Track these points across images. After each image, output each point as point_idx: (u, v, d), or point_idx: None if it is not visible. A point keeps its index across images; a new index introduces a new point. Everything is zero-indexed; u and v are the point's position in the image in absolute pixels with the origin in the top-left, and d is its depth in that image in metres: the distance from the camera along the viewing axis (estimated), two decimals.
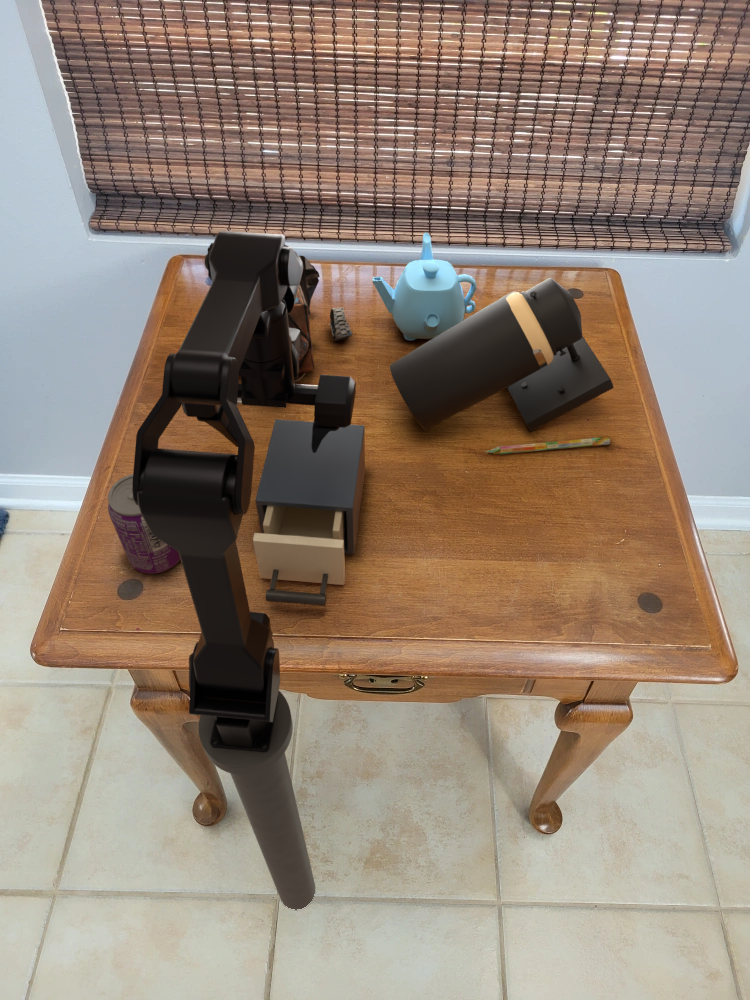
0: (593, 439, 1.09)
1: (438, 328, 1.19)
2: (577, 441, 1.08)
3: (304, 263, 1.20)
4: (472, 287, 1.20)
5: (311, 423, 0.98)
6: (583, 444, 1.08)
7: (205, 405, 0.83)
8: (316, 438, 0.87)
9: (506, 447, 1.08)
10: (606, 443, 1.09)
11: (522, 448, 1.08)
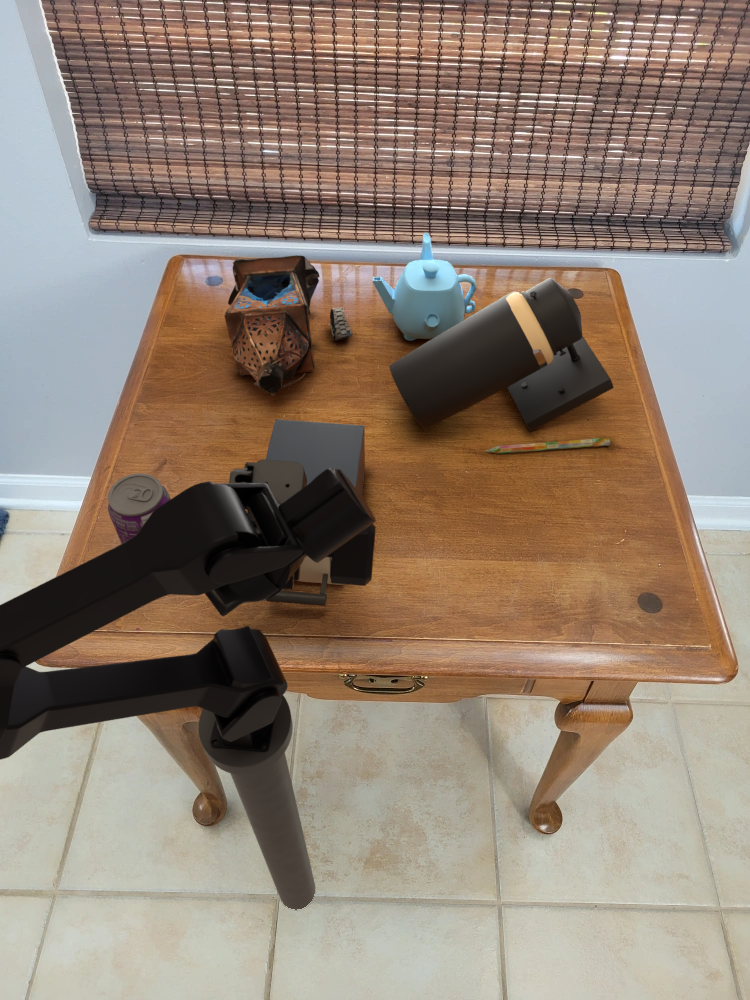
0: (593, 440, 1.09)
1: (438, 328, 1.19)
2: (577, 441, 1.08)
3: (304, 263, 1.20)
4: (472, 287, 1.20)
5: (311, 423, 0.98)
6: (583, 445, 1.08)
7: None
8: None
9: (506, 446, 1.08)
10: (606, 444, 1.09)
11: (522, 448, 1.08)
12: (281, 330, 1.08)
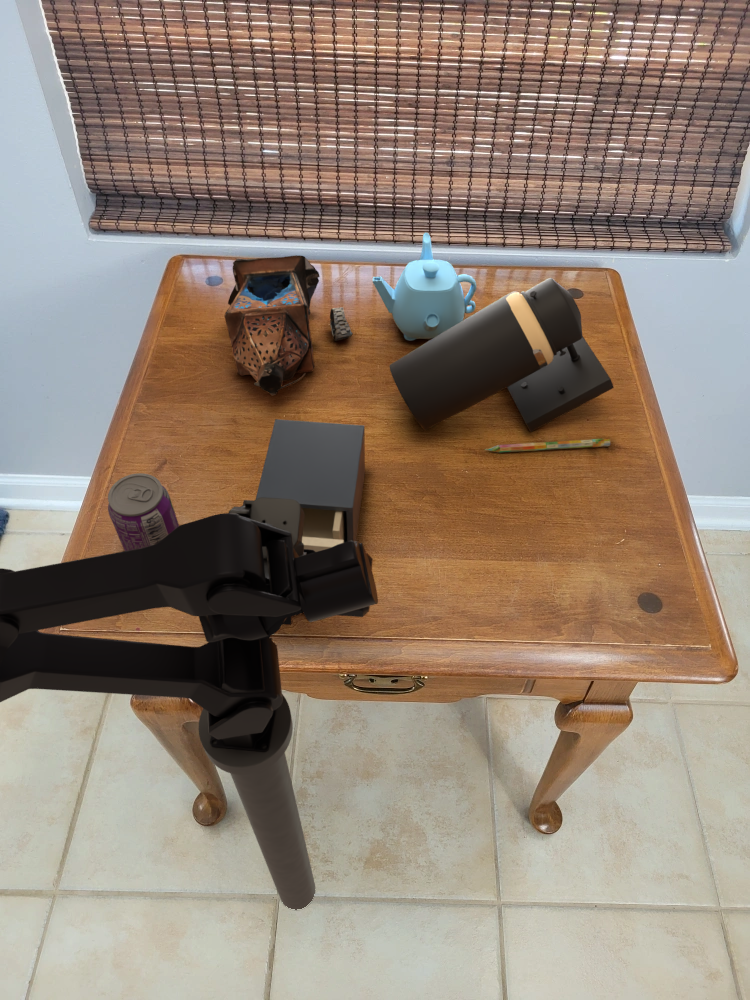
0: (593, 440, 1.08)
1: (438, 328, 1.19)
2: (577, 442, 1.08)
3: (304, 263, 1.20)
4: (472, 287, 1.20)
5: (311, 423, 0.98)
6: (583, 445, 1.08)
7: None
8: None
9: (505, 446, 1.08)
10: (606, 445, 1.09)
11: (522, 447, 1.08)
12: (281, 330, 1.08)
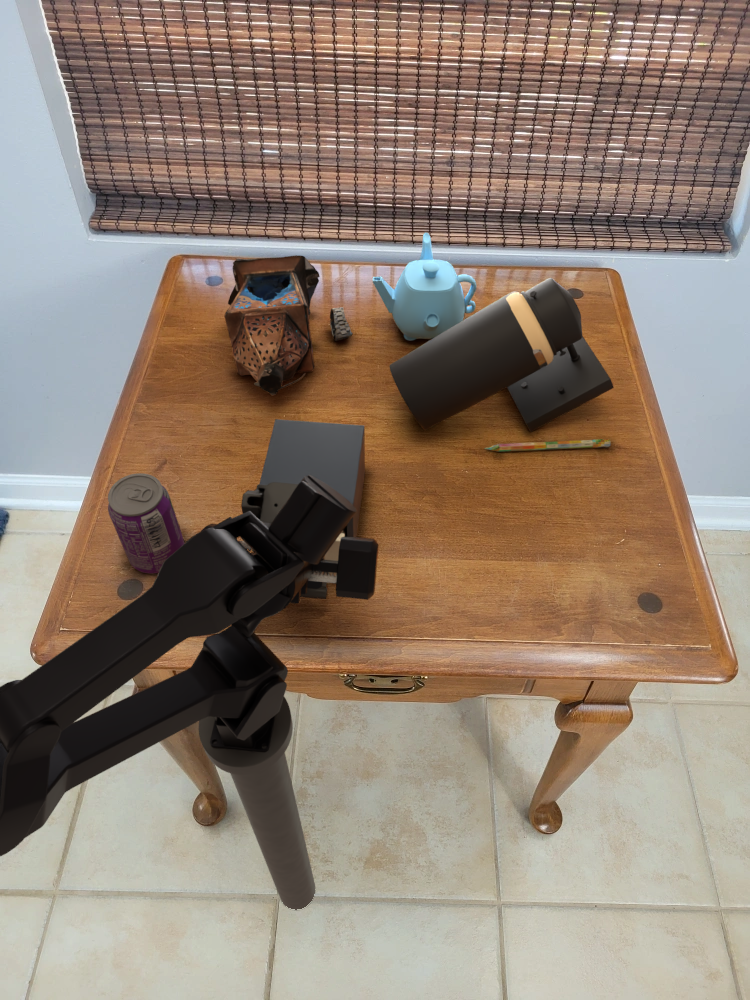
0: (593, 441, 1.08)
1: (438, 328, 1.19)
2: (577, 442, 1.08)
3: (304, 263, 1.20)
4: (472, 287, 1.20)
5: (311, 423, 0.98)
6: (583, 445, 1.08)
7: None
8: None
9: (505, 445, 1.08)
10: (606, 445, 1.09)
11: (521, 446, 1.08)
12: (281, 330, 1.08)
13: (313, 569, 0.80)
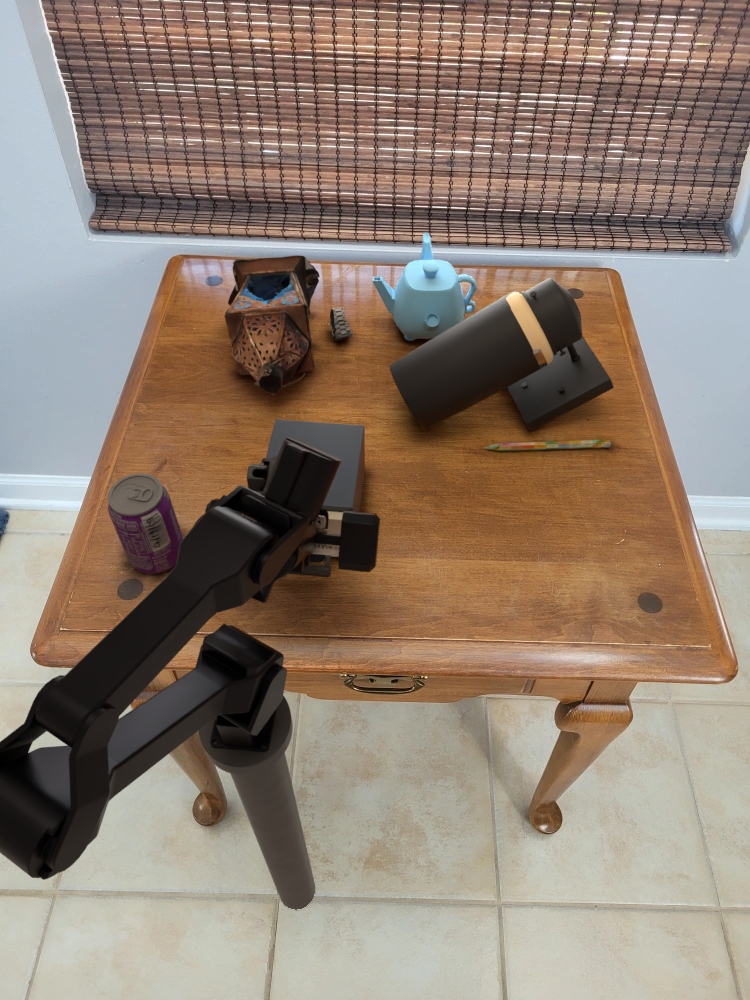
0: (594, 441, 1.08)
1: (438, 328, 1.19)
2: (577, 442, 1.08)
3: (304, 263, 1.20)
4: (472, 287, 1.20)
5: (311, 423, 0.98)
6: (583, 445, 1.08)
7: None
8: None
9: (505, 444, 1.08)
10: (607, 446, 1.09)
11: (521, 446, 1.08)
12: (281, 330, 1.08)
13: (316, 542, 0.82)
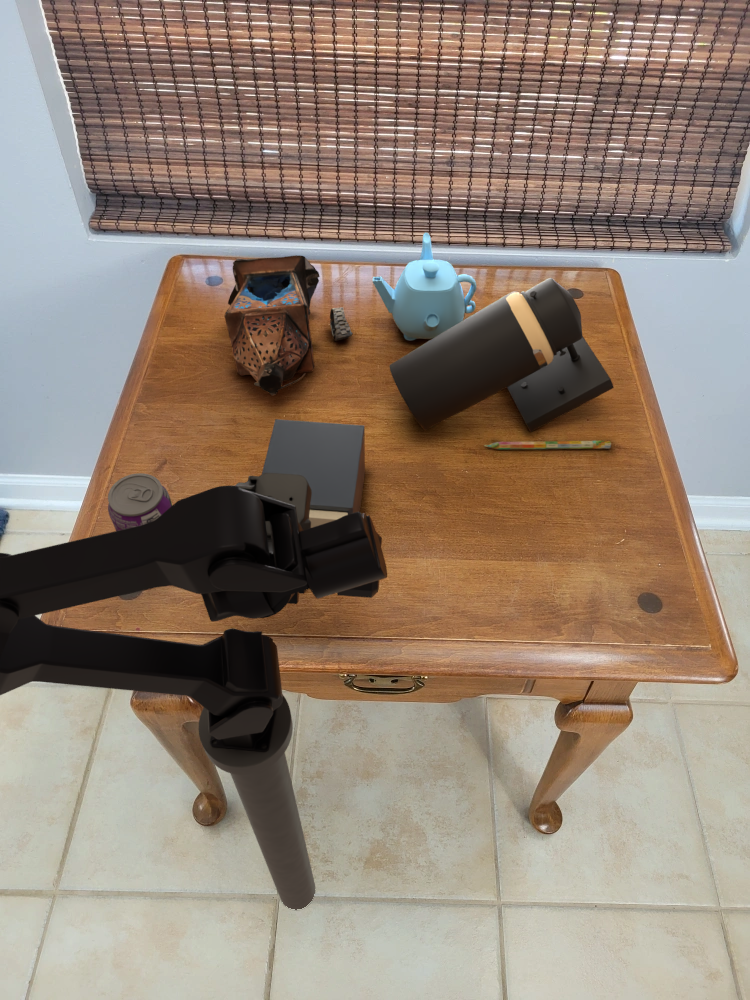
0: (594, 442, 1.08)
1: (438, 328, 1.19)
2: (577, 442, 1.08)
3: (304, 263, 1.20)
4: (472, 287, 1.20)
5: (311, 423, 0.98)
6: (583, 446, 1.08)
7: None
8: None
9: (505, 443, 1.08)
10: (607, 447, 1.08)
11: (521, 445, 1.08)
12: (281, 330, 1.08)
13: None
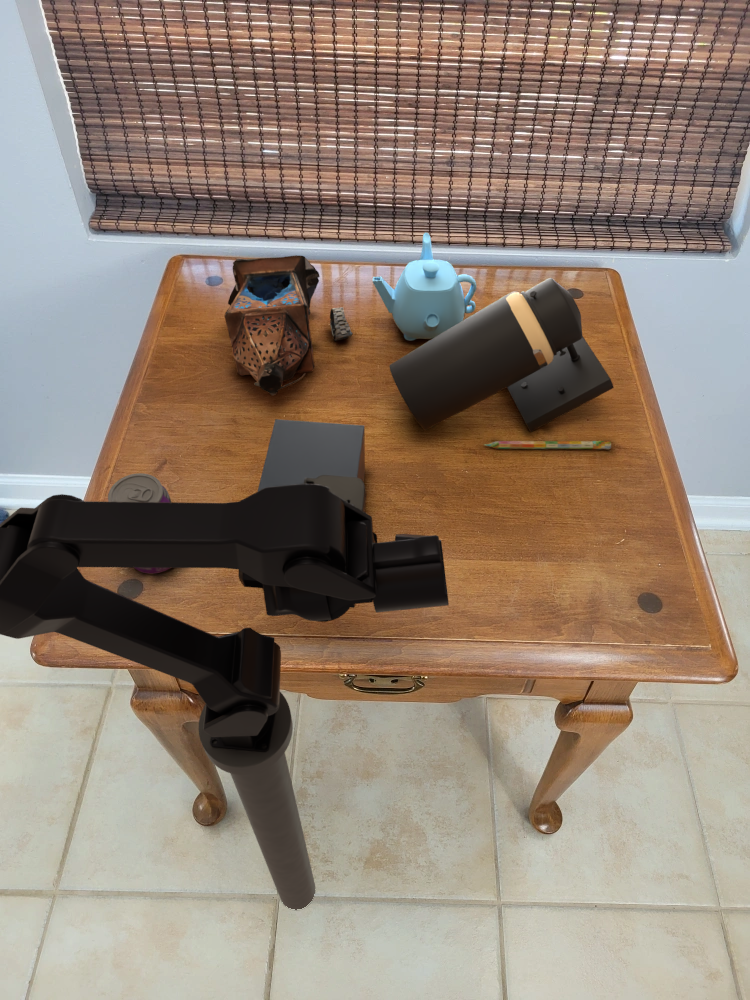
0: (594, 442, 1.08)
1: (438, 328, 1.19)
2: (577, 443, 1.08)
3: (304, 263, 1.20)
4: (472, 287, 1.20)
5: (311, 423, 0.98)
6: (583, 446, 1.08)
7: None
8: None
9: (505, 442, 1.08)
10: (607, 447, 1.08)
11: (521, 444, 1.08)
12: (281, 330, 1.08)
13: None
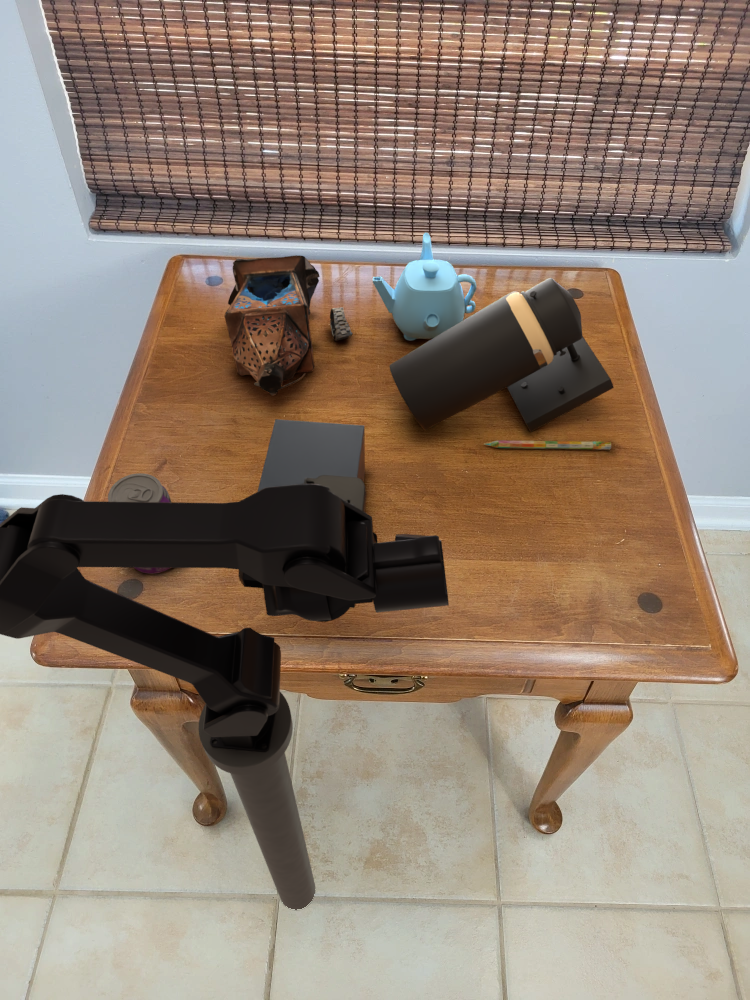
0: (594, 443, 1.08)
1: (438, 328, 1.19)
2: (577, 443, 1.08)
3: (304, 263, 1.20)
4: (472, 287, 1.20)
5: (311, 423, 0.98)
6: (583, 446, 1.08)
7: None
8: None
9: (505, 442, 1.08)
10: (607, 448, 1.08)
11: (521, 444, 1.08)
12: (281, 330, 1.08)
13: None
